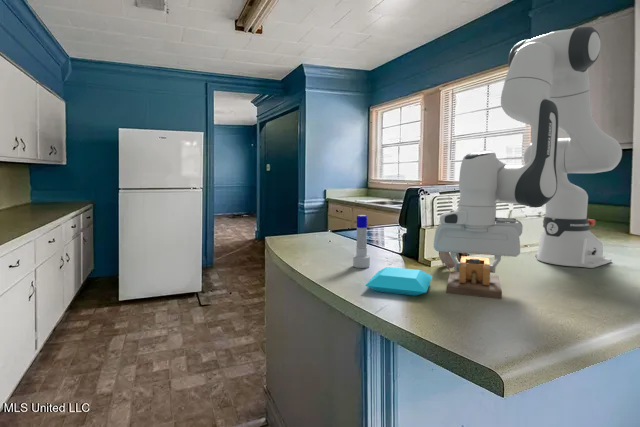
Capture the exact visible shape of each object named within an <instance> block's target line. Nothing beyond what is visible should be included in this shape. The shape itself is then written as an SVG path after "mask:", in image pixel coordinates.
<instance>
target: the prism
mask: <svg viewBox="0 0 640 427" xmlns="http://www.w3.org/2000/svg"><path fill="white" fill-rule="evenodd" d="M432 279H433V275H432V274H429V273H427V272H425V271H424V270H421V269H413V268H402V267H390V266H386V267H384V268H382V269H380V270H379V271H377V272H376V273H375V275H374V276H372V278H371V279H370V280H369V281H368V282H367V283H366V284H365V285H364V287H367V288H369V289H372V290H374V291H376V292H381V293H388V294H389V293H390V294H397V295H406V296H419V295H422V294H425V293H427V292H428V289H429V286H430V285H431V282H432Z"/></svg>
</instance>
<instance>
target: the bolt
mask: <svg viewBox="0 0 640 427" xmlns="http://www.w3.org/2000/svg"><path fill="white" fill-rule="evenodd" d="M367 229H368V216H367V215H366V214H358V215H357V216H356V249H355V250H356V252H355V253H356V254H354V255H353V256H352V259H353V260H352V262H353V263H352V265H353V266H352V267H354V268H356V269H368V268H369V267H370V265H371V263H370V262H371V261H370V260H371V259H370V258H371V256H370V255H368V252H367V251H368V248H367V246H368V244H367V243H368V242H367V241H368V237H367V236H368V231H367Z"/></svg>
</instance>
